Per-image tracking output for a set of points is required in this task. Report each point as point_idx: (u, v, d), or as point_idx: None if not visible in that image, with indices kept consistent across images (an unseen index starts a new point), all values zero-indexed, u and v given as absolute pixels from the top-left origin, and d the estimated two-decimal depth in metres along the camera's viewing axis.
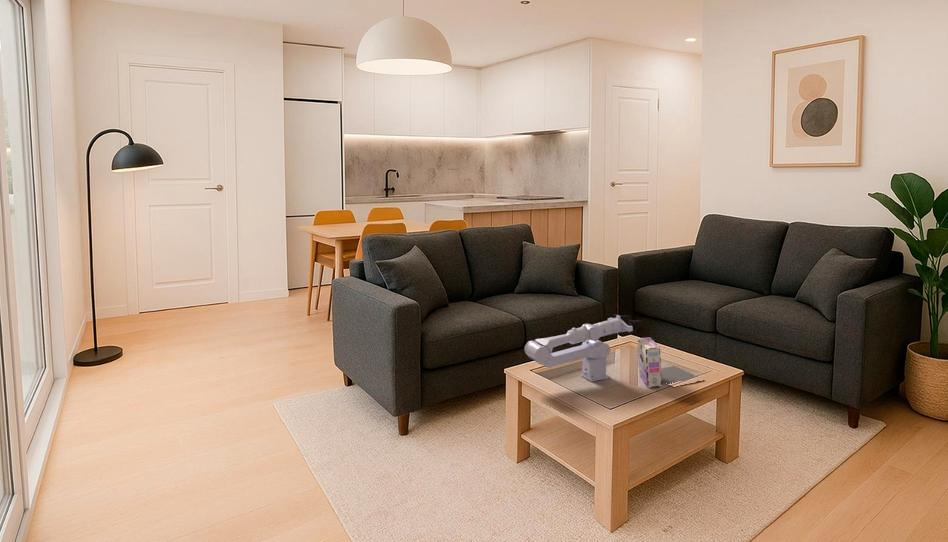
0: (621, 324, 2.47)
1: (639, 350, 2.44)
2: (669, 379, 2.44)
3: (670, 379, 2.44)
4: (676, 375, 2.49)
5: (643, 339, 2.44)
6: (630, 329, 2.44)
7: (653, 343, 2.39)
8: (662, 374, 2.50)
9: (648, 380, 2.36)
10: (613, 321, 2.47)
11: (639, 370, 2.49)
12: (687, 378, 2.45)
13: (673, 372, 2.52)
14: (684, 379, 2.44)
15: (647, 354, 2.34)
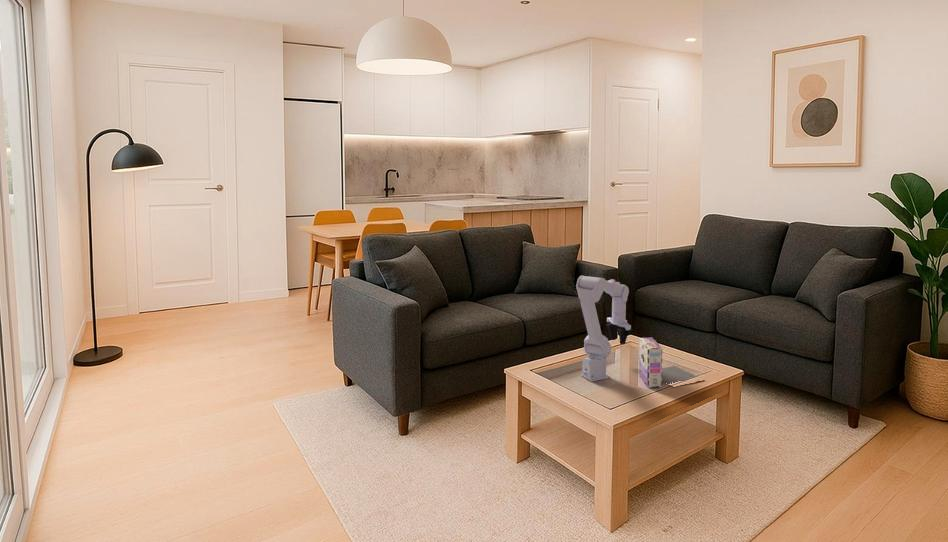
0: (624, 322, 2.57)
1: (641, 350, 2.44)
2: (669, 379, 2.44)
3: (670, 379, 2.44)
4: (676, 375, 2.49)
5: (645, 339, 2.44)
6: (628, 327, 2.53)
7: (655, 343, 2.38)
8: (662, 374, 2.50)
9: (648, 380, 2.36)
10: None
11: None
12: (687, 378, 2.45)
13: (673, 372, 2.52)
14: (684, 379, 2.44)
15: (649, 354, 2.34)
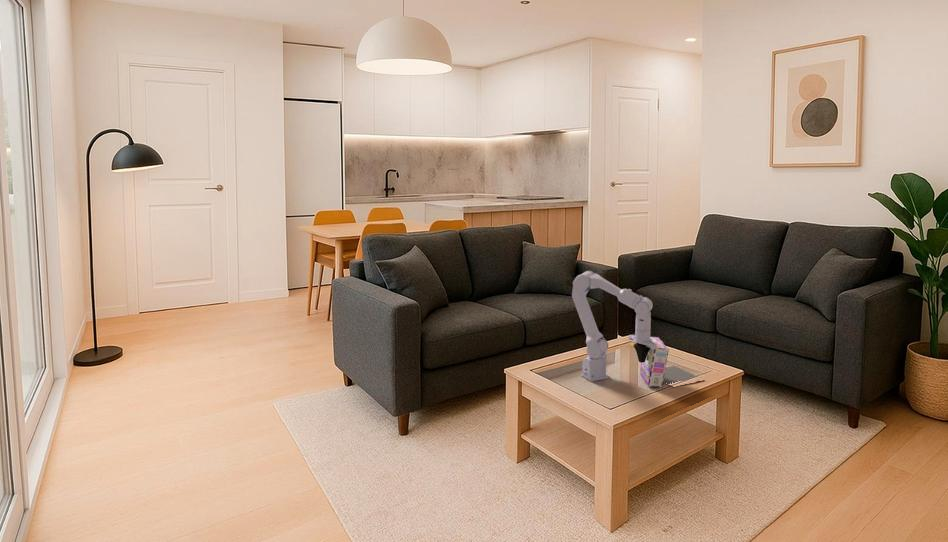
0: (649, 340, 2.35)
1: None
2: (669, 379, 2.44)
3: (670, 379, 2.44)
4: (676, 375, 2.49)
5: (652, 338, 2.44)
6: (654, 346, 2.31)
7: (662, 344, 2.38)
8: None
9: (650, 379, 2.36)
10: None
11: None
12: (687, 378, 2.45)
13: (673, 372, 2.52)
14: (684, 379, 2.44)
15: (655, 353, 2.34)
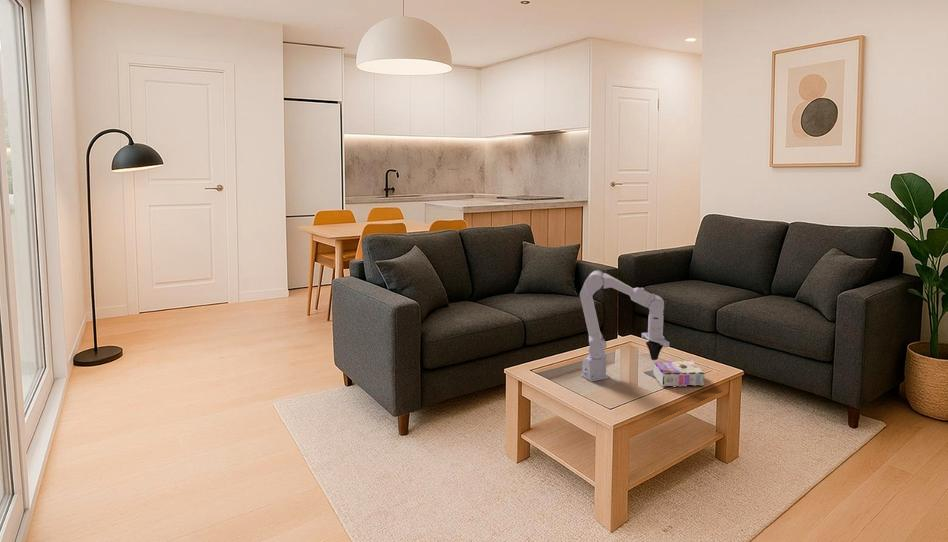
0: (661, 338, 2.38)
1: (685, 363, 2.45)
2: None
3: None
4: None
5: None
6: (667, 344, 2.33)
7: None
8: None
9: (671, 374, 2.36)
10: None
11: (659, 362, 2.48)
12: None
13: None
14: None
15: (698, 374, 2.35)
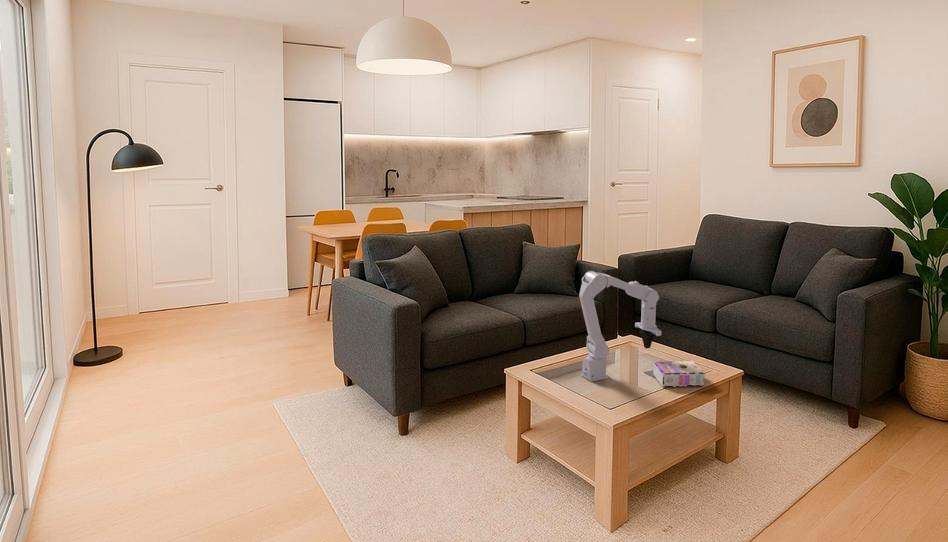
0: (654, 327, 2.49)
1: (685, 363, 2.45)
2: None
3: None
4: None
5: None
6: (659, 333, 2.44)
7: None
8: None
9: (671, 374, 2.36)
10: None
11: (659, 362, 2.48)
12: None
13: None
14: None
15: (698, 374, 2.35)
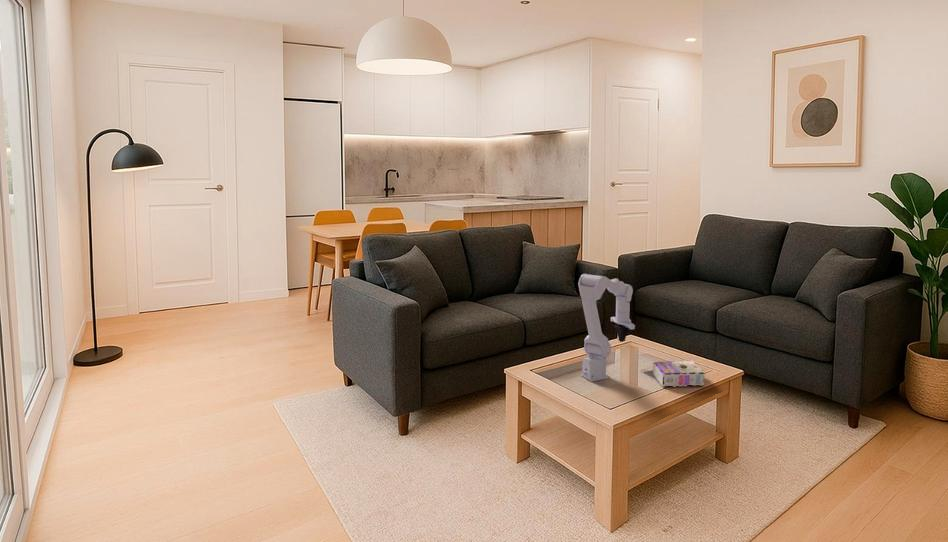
0: (628, 321, 2.58)
1: (685, 363, 2.45)
2: None
3: None
4: None
5: None
6: (632, 326, 2.54)
7: None
8: None
9: (671, 374, 2.36)
10: None
11: (659, 362, 2.48)
12: None
13: None
14: None
15: (698, 374, 2.35)
